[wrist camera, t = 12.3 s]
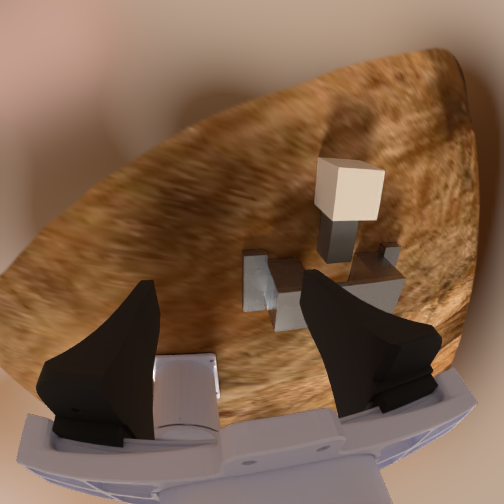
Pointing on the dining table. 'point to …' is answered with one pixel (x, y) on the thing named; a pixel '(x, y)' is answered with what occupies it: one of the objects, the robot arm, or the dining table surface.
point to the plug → (345, 203)
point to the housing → (291, 277)
